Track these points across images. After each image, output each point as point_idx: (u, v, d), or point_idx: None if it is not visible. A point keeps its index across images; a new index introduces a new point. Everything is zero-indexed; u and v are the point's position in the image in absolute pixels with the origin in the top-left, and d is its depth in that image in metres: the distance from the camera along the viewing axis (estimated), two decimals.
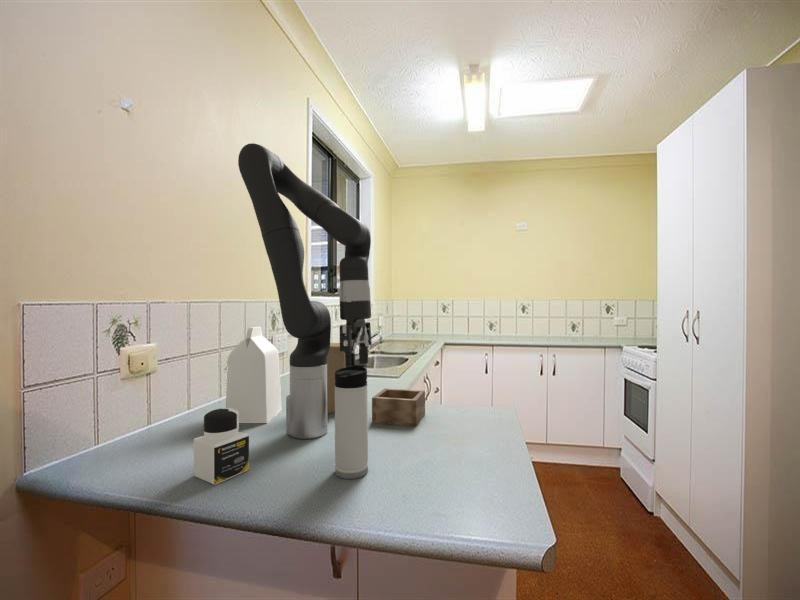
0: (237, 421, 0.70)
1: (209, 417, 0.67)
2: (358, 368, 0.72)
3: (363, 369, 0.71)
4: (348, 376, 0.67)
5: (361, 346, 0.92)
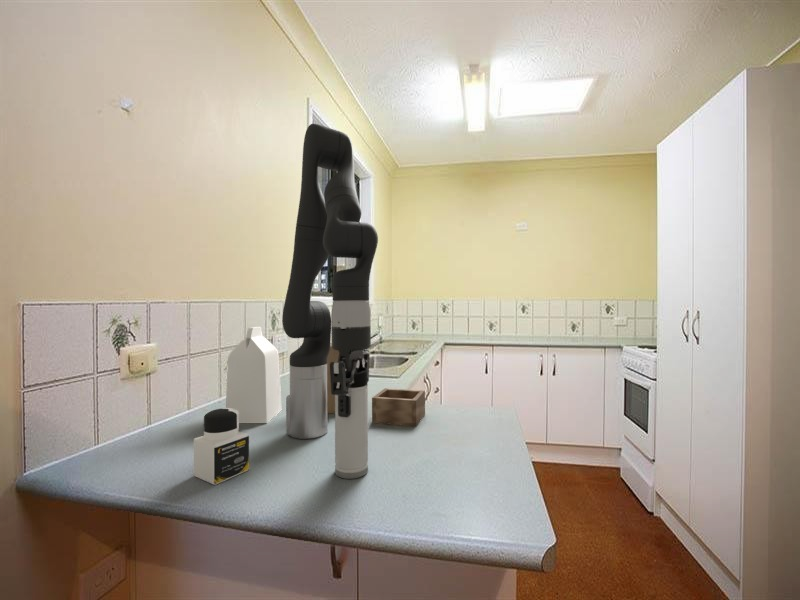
0: (237, 421, 0.70)
1: (209, 417, 0.67)
2: None
3: None
4: (349, 376, 0.67)
5: None
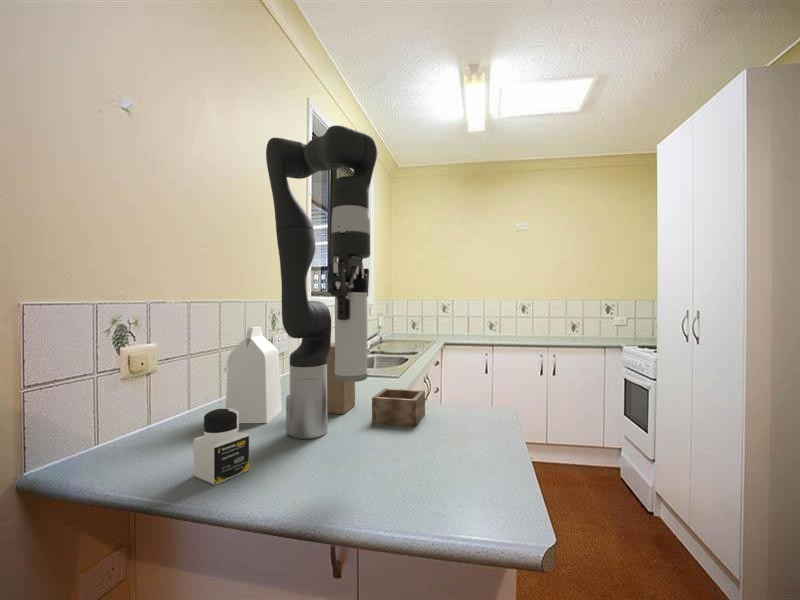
0: (237, 421, 0.70)
1: (209, 417, 0.67)
2: None
3: None
4: (348, 280, 0.67)
5: None
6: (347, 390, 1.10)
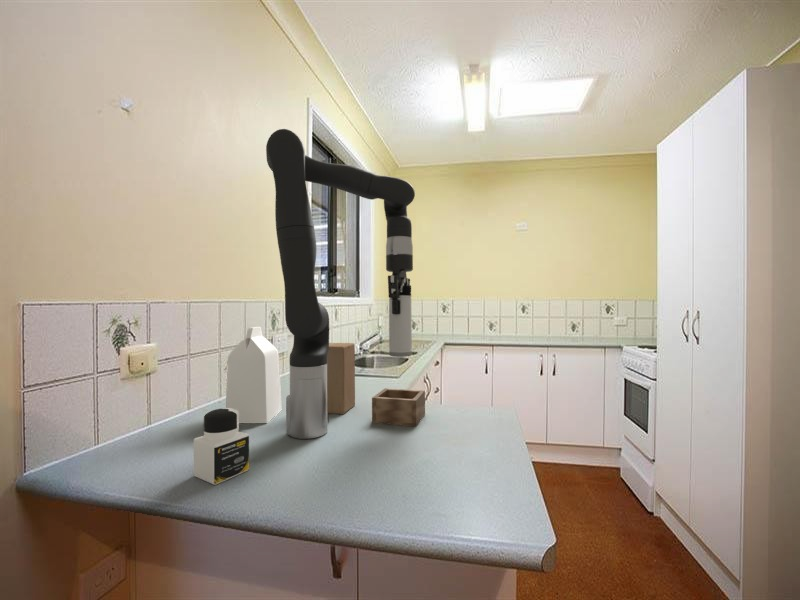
0: (237, 421, 0.70)
1: (209, 417, 0.67)
2: None
3: (408, 286, 1.03)
4: (399, 287, 0.99)
5: None
6: (347, 390, 1.10)
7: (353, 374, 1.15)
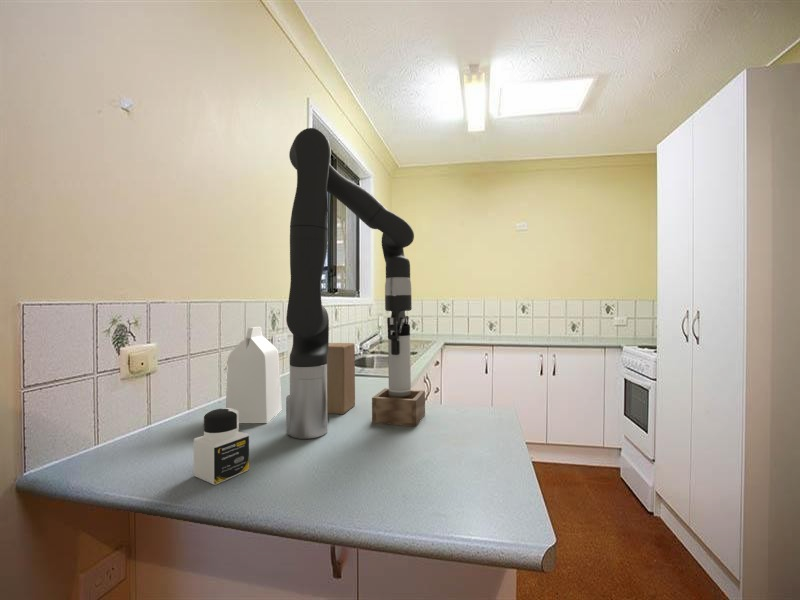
0: (237, 421, 0.70)
1: (209, 417, 0.67)
2: None
3: (407, 325, 1.04)
4: (398, 328, 1.00)
5: None
6: (347, 390, 1.10)
7: (353, 374, 1.15)
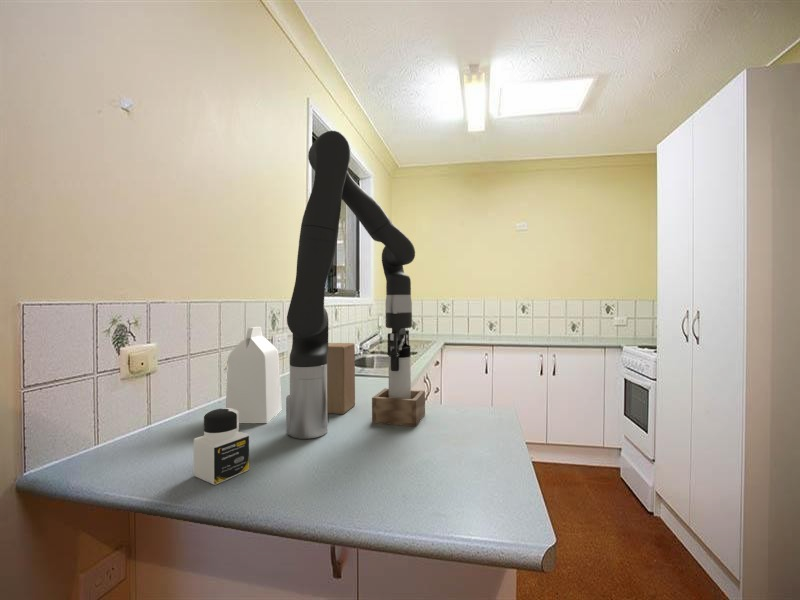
0: (237, 421, 0.70)
1: (209, 417, 0.67)
2: None
3: (407, 346, 1.04)
4: None
5: None
6: (347, 390, 1.10)
7: (353, 374, 1.15)
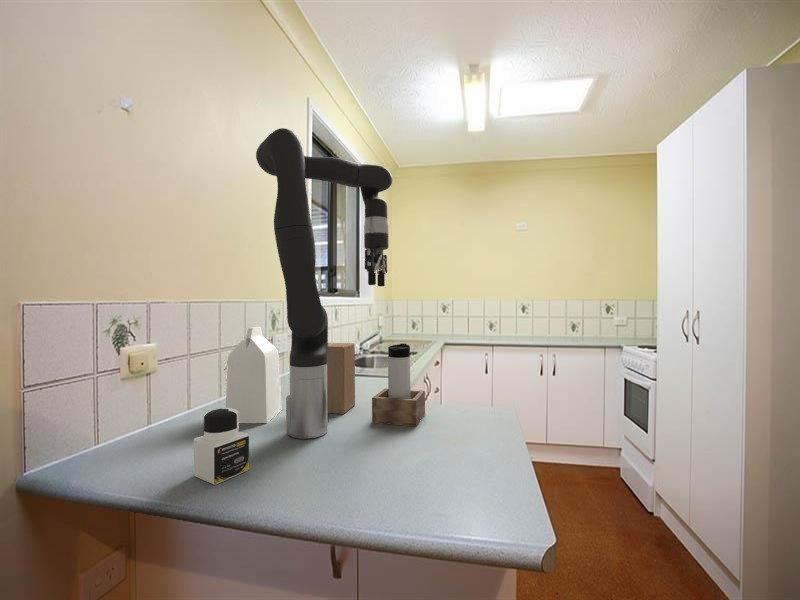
0: (237, 421, 0.70)
1: (209, 417, 0.67)
2: (403, 345, 1.05)
3: (406, 346, 1.04)
4: (398, 349, 1.00)
5: (379, 272, 1.17)
6: (347, 390, 1.10)
7: (353, 374, 1.15)
